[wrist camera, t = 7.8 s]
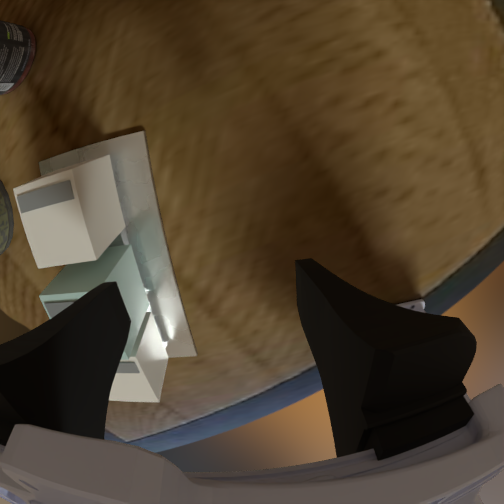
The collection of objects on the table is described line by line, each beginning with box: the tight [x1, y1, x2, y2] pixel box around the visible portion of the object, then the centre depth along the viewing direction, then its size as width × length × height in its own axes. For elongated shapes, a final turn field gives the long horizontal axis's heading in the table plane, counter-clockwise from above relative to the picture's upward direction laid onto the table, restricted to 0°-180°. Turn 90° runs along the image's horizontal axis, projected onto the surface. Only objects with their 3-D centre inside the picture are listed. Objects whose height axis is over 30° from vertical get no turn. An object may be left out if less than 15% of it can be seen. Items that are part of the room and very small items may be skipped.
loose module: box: [39, 244, 149, 360], centre depth 18 cm, size 4×5×6 cm
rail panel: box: [39, 131, 197, 357], centre depth 21 cm, size 9×19×1 cm, turn 6°
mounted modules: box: [13, 155, 169, 402], centre depth 18 cm, size 4×17×5 cm, turn 6°
